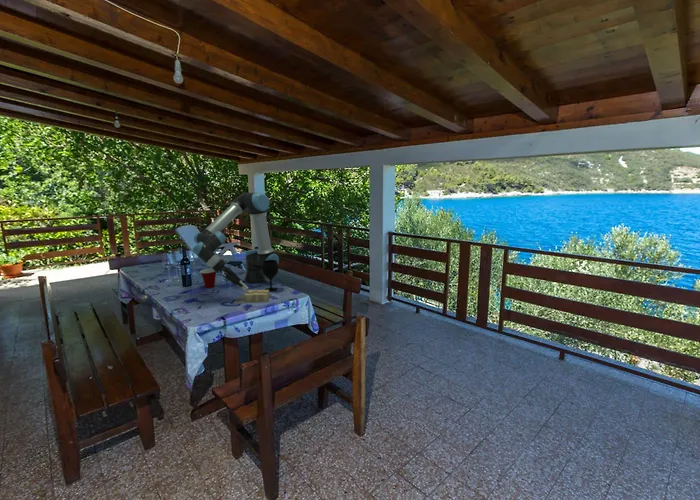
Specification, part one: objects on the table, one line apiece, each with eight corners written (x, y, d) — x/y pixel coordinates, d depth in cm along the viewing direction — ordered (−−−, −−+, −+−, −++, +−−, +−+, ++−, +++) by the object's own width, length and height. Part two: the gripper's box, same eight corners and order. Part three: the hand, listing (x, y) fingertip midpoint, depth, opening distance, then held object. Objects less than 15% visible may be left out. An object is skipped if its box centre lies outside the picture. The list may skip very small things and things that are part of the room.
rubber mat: (238, 296, 218) (238, 295, 218) (271, 295, 221) (271, 294, 221) (233, 304, 203) (233, 303, 203) (268, 303, 205) (268, 302, 205)
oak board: (247, 290, 215) (268, 289, 217) (247, 296, 216) (269, 295, 218) (244, 295, 206) (267, 294, 207) (245, 301, 206) (267, 300, 208)
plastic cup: (199, 286, 239) (197, 269, 237) (215, 283, 245) (214, 267, 243) (203, 290, 231) (202, 272, 228) (219, 287, 237) (218, 270, 235)
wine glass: (262, 293, 224) (261, 263, 221) (263, 288, 234) (262, 259, 231) (279, 292, 226) (278, 262, 223) (279, 287, 236) (278, 259, 233)
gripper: (215, 265, 212) (244, 290, 217) (209, 270, 199) (240, 297, 204) (223, 256, 211) (252, 282, 216) (218, 261, 199) (249, 288, 204)
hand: (246, 289), depth 210 cm, fingers closed
